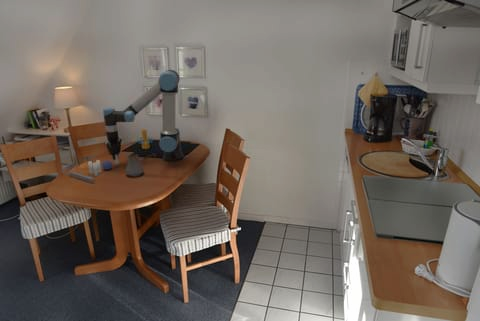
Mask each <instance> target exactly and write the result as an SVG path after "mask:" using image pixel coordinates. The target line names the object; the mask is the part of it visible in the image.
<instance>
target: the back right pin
mask: <svg viewBox="0 0 480 321" xmlns="http://www.w3.org/2000/svg"><path fill="white" fill-rule="evenodd" d="M92 163H93V162H92V160H91V161H87V166H88V171H89V172H88V173H89V175H94V170H93V164H92Z"/></svg>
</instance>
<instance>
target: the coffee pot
mask: <svg viewBox="0 0 480 321" xmlns="http://www.w3.org/2000/svg"><path fill="white" fill-rule="evenodd" d="M153 156H154V157H155V158H156V157H157V154H156V153H151V154H149V155H147V156H144V157H143V158H140V159H138V157H139V155H138V154H130V155H128V156H127V158H128V163H127V166H126V169H125V173H126V174H127V175H128V176H130V177H139V176H141V175H142V174H143V173H144V171H145V169H144V167H143V166H142V164H141V162H140V161H143V160H146V159H148V158H151V157H153Z"/></svg>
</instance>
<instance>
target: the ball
mask: <svg viewBox="0 0 480 321" xmlns="http://www.w3.org/2000/svg"><path fill="white" fill-rule="evenodd" d="M112 167H113V164H112V162H111V161H109V160H105V161H104V162H102V169H104V170H106V171H107V170H110V169H111V168H112Z"/></svg>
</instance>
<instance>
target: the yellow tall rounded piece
mask: <svg viewBox="0 0 480 321" xmlns="http://www.w3.org/2000/svg"><path fill="white" fill-rule="evenodd" d="M147 132H148V131H147V129H141V138H138V139H137V143H138V144H141V148H142V149H144V150H147V149H150V147H151V146H150V143H153V139H154V138H152V137H151V136H150V137H149V136H148V133H147ZM149 139H151V141H150V140H149Z"/></svg>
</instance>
